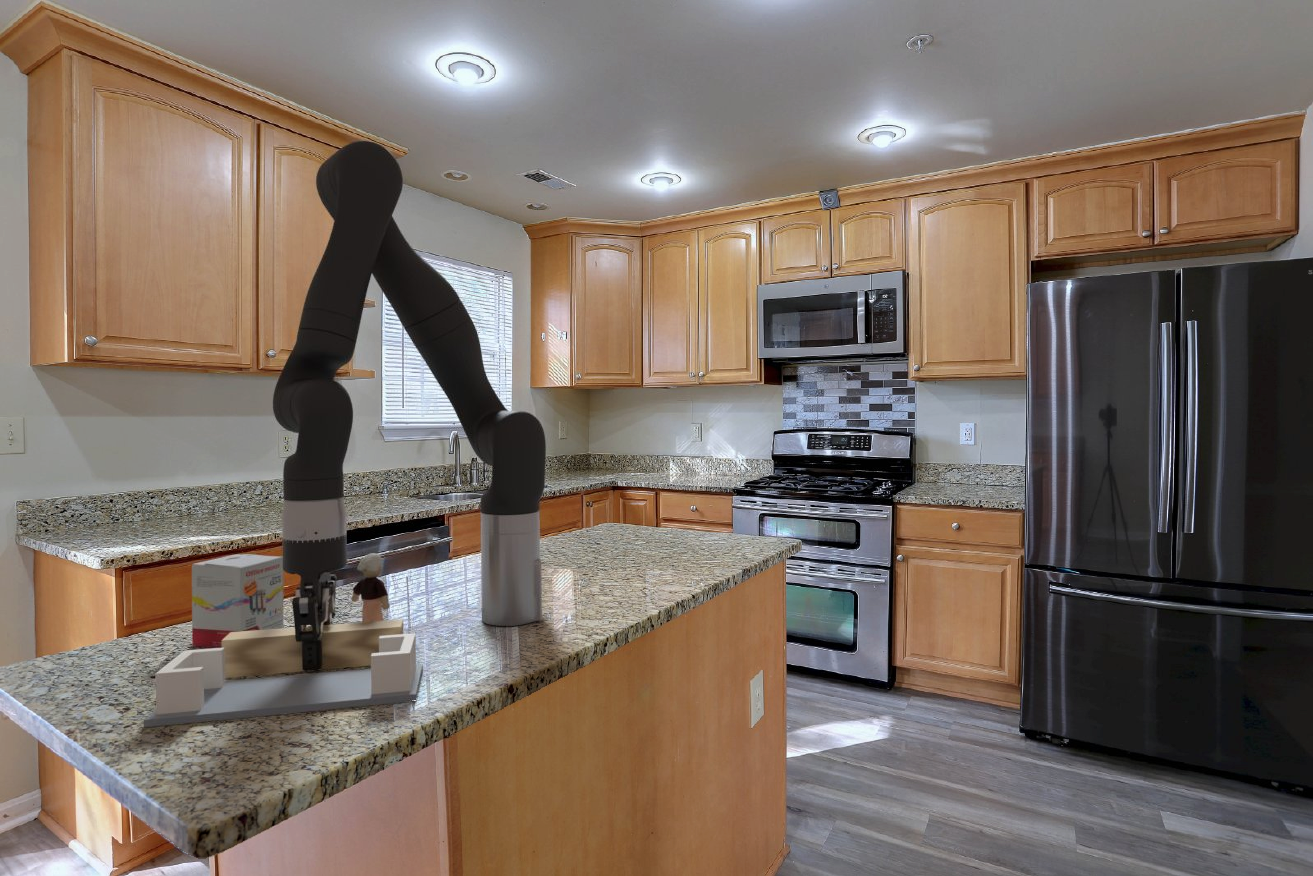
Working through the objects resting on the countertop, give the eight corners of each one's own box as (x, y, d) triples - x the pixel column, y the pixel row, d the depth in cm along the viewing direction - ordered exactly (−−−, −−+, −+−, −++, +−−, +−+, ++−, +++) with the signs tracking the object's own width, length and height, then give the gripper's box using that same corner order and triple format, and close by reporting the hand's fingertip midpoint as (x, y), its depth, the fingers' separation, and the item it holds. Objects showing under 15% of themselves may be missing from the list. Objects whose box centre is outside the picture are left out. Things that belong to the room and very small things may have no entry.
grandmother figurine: (403, 639, 102) (402, 552, 102) (385, 647, 99) (383, 557, 98) (360, 634, 105) (359, 549, 104) (341, 641, 101) (339, 554, 101)
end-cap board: (422, 670, 90) (422, 630, 90) (415, 701, 80) (415, 655, 80) (182, 691, 83) (181, 647, 83) (143, 727, 73) (142, 678, 73)
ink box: (242, 650, 98) (240, 565, 97) (190, 646, 100) (188, 563, 99) (286, 631, 106) (285, 553, 106) (237, 628, 108) (236, 551, 108)
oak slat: (403, 655, 96) (403, 619, 96) (401, 664, 93) (400, 626, 93) (231, 670, 91) (230, 632, 90) (222, 680, 87) (221, 640, 87)
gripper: (335, 541, 85) (337, 680, 86) (355, 523, 99) (357, 643, 100) (266, 544, 83) (269, 686, 84) (297, 526, 97) (299, 648, 98)
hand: (317, 662), depth 92 cm, fingers open, 4 cm apart
